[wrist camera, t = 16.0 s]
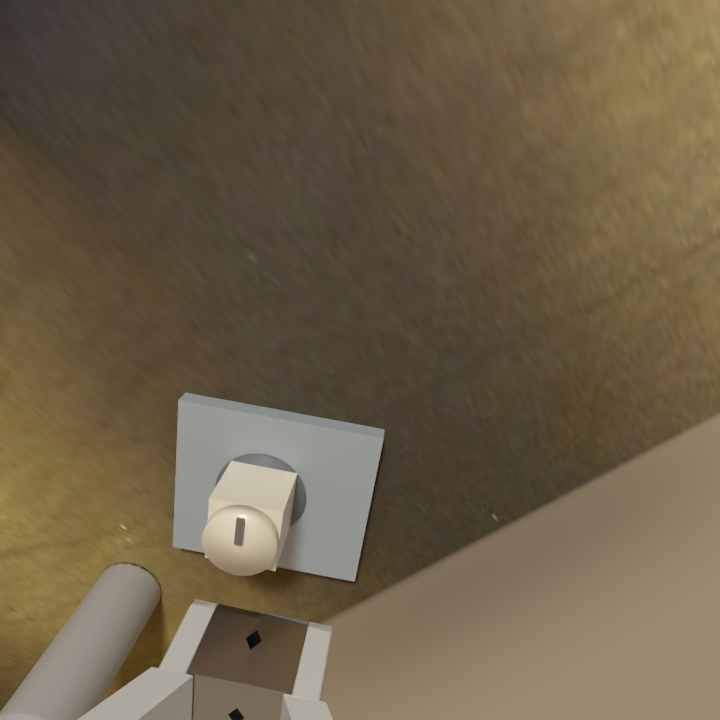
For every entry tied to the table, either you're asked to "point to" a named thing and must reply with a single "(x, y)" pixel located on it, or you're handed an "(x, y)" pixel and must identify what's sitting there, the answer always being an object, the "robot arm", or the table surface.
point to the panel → (288, 453)
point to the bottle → (88, 648)
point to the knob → (249, 518)
